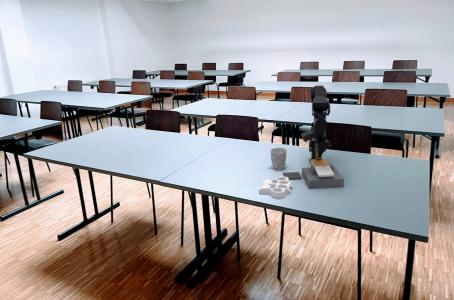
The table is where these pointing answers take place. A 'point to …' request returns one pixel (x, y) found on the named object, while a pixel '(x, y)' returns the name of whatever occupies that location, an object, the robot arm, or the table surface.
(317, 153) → the walnut cylinder
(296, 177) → the black mat
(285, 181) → the white lobed tray
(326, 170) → the white and orange panel
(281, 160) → the mug
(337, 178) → the grey square block
